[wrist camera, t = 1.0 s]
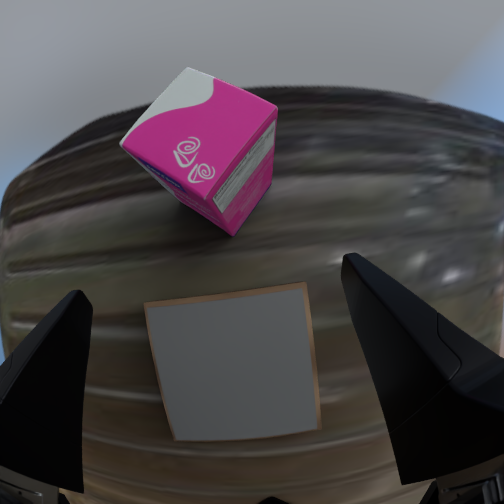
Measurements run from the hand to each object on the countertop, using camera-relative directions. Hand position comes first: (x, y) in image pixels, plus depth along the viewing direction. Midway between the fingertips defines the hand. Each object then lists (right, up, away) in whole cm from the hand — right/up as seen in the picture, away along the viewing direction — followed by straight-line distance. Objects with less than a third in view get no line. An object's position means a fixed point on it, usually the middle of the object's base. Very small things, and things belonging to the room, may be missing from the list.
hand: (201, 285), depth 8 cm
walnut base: (0, -8, +13) cm, 15 cm away
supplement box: (-1, +6, +14) cm, 16 cm away
